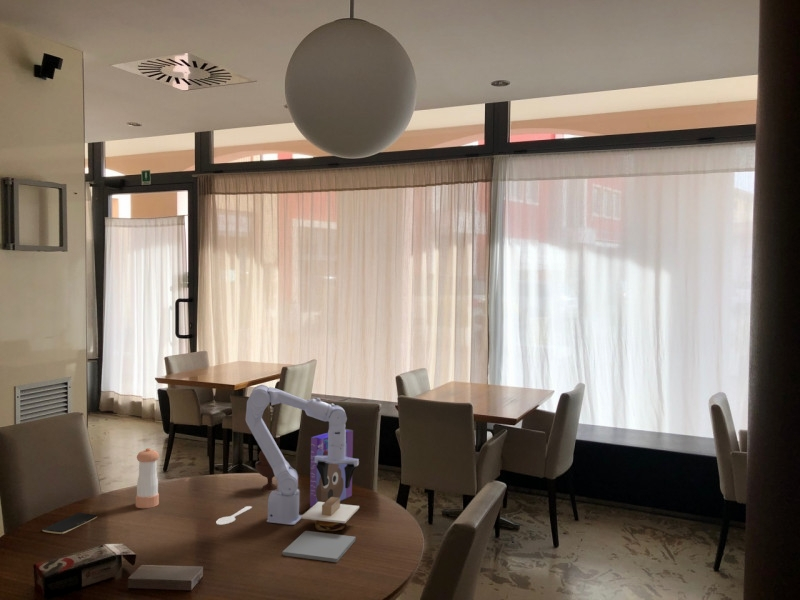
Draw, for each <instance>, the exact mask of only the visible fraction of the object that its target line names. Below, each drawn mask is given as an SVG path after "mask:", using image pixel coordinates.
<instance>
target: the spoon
mask: <svg viewBox="0 0 800 600" xmlns="http://www.w3.org/2000/svg"><path fill="white" fill-rule="evenodd" d="M251 509H253V506H252V505H247V506H244V508H241V509H240V510H238V511H237V512H235V513H234V514H232V515H229V516H223V517H220V518H218V519H217V520H216V521H215V524H216V525H218V526H225V525H228V524H231V523H233V522H235V521H236V519H237V518H236V517H237V516H239V515H241V514H242V513H245V512H246V511H249V510H251Z"/></svg>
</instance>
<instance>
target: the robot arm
mask: <svg viewBox="0 0 800 600" xmlns="http://www.w3.org/2000/svg"><path fill="white" fill-rule="evenodd" d="M269 404H270V406H274V405H279V404H283V405H286V406H290V407H293V408H296V409H299V410H302V411H304V412H305V415H306V416H308V417H311V418H314V419H316V420H320V421H322V422H328V431H327V433H328V456H315V463H318V465H316V467H317V469H318V471H319V473H320V475H321V478H322V483H323V486H326V485H327V482H328V475H327V474H328V465H329V463H330V464H342V465H347V466H346V467H345V468H344V469H345V478H346V480H345V488H348V487H349V486H350V481H351V478H352V479H353V475H354V472H355V470H356V468H357V467H358V466H359V464H360V461H359V460H360V459H359V458H354V457H353V458H350V457H345V454H346V430H345V429H346V423H347V420H348V417H347V414H346V411H345V409H344V408H343V407H342V406H340V405H338V404H336V405H335V404H334V403H327V402H325V401H322V400H321V398H320V397H316V398H310V399H308V400H307V399H306V398H305V399H304V398H302V397H300V396H296V395H294V394H292V393H289V392H287V391H284V390H281V389H278V388H276V387H272V386H269V387H268V385H264V384H259V385H257V386H255V387H254V388H253V389H252V391H251V393H250V395H249V396H248V399H247V401H246V411H245V422H246V425H247V427H248V429H249V430H250V433H252V436H253V437H254V439H255V441H256V443H257V445H258V446H259V448H260V449H261V450H262V451H263V453H264V455H265V457H266V459H267V460H268V462H269V464H270V466H271V467H272V469H273V472H274V475H275V477H274V478H275V480H276V482H277V489H276V490H271V492H270V493H269V496H268V500H267V519H266V523H273V524H281V525H289V526H294V525H296V524H297V523H298V522H299V521H301V520H302V519H303V518H301V516H302V515H303V514H300V513H299V512H300V488H298V487H299V474H298V471H297V470H296V469H294V468H293V467H292V466H291V465H290V463H289V461H287V460H286V458H285V457H284V455H283V453H282V451H281V450H280V448H279V446H278V445H277V442H276V441H275V439H274V437H273V435H272V434H271V432H270V430H269V428H268V427H267V424H266V422H265V421H264V419H263V414H264V412H265V410H266V408H267V407H268V406H269ZM261 450H260V451H261Z"/></svg>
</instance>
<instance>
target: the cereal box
mask: <svg viewBox="0 0 800 600" xmlns="http://www.w3.org/2000/svg"><path fill="white" fill-rule="evenodd" d="M345 430H346V454H345V457H350V458H354V457H353V453H354V452H353V451H354V450H353V449H354V430H353V429H348V428H345ZM315 456H328V432H326V433H322V434H318V435H315V436H311V437H310V477H309V478H310V481H309V483H310V486H309V508H311V507H313V506H314V505H315V504H316V503H317V502H326V501H327V500H328V499H330V498H331V497H336V498H340V502H343V501H344V500H348V499H349V498H351V497H353V477H352V478H351V481H350V486H349V487H348V488H345V480H346V478H345V469H344V468H345V467H346V466H347V465H342V464H330V463H329V465H328V474H327V475H328V482H327V485H326V486H323V483H322V478H321V475H320V473H319V471H318V469H317V467H316V465H318V463H315Z"/></svg>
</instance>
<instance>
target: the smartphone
mask: <svg viewBox="0 0 800 600" xmlns="http://www.w3.org/2000/svg"><path fill="white" fill-rule="evenodd" d="M97 518H98V515H97V514H92V513H85V512H84V513H83V512H77V513H75V514H72V515H71V516H69V517H65V518H64V519H62V520H59V521H57V522H55V523H53V524H50V525H48V526H46V527H44V528H42V532H44V533H49V534H50V533H51V534H57V535H58V534H59V535H61V534H62V535H64V534H66V533H68V532H70V531H72V530H74V529H77V528H78V527H80V526H82V525H85V524H87V523H89V522H91V521H93V520H95V519H97Z"/></svg>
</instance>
